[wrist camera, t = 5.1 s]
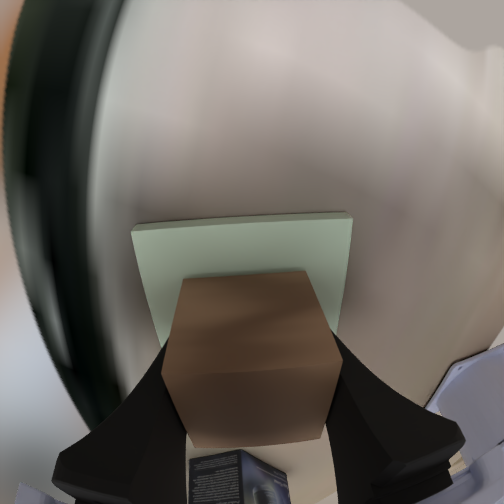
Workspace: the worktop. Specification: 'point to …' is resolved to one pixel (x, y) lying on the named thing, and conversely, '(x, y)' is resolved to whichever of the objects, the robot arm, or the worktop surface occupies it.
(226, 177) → the worktop surface
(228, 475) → the small box
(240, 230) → the plate
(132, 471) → the robot arm
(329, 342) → the walnut cube
